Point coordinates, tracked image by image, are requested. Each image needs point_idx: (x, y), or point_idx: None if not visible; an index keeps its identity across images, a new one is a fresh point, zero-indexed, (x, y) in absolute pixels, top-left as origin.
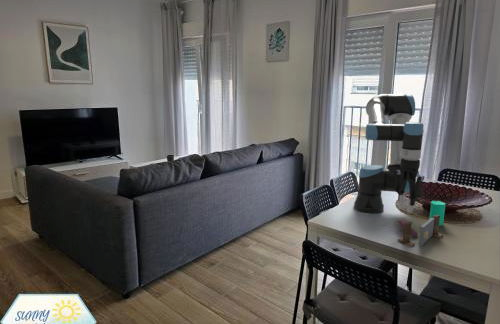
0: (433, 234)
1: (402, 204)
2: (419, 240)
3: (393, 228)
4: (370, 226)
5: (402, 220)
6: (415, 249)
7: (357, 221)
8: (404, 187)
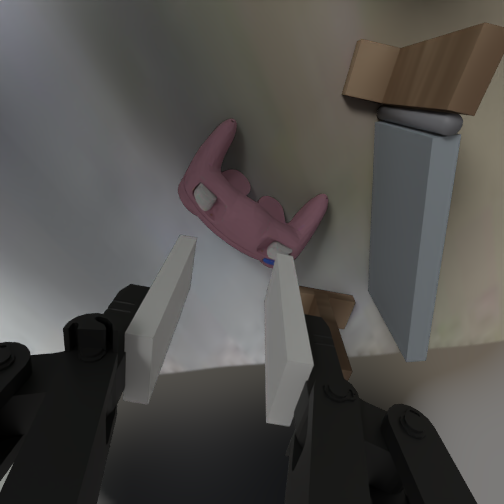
0: (397, 106)
1: (183, 286)
2: (377, 304)
3: (176, 190)
4: (91, 261)
5: (225, 229)
6: (367, 323)
7: (4, 255)
8: (83, 495)
